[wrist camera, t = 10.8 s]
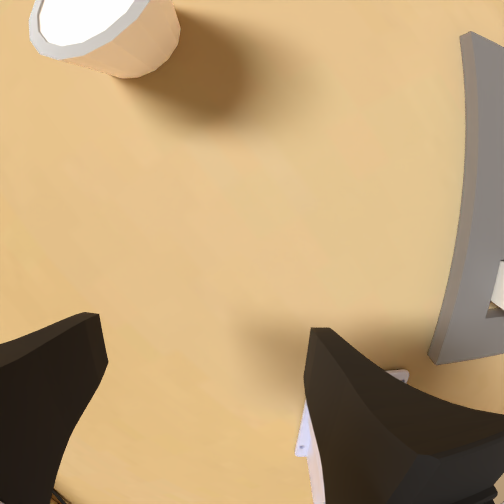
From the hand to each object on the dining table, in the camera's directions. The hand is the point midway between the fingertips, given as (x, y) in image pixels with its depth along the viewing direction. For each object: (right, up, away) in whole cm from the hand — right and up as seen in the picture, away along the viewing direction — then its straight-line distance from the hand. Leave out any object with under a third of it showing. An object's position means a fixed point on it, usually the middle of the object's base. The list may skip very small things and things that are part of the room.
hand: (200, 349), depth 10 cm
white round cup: (-5, +16, +5) cm, 18 cm away
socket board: (+22, +6, +8) cm, 24 cm away
